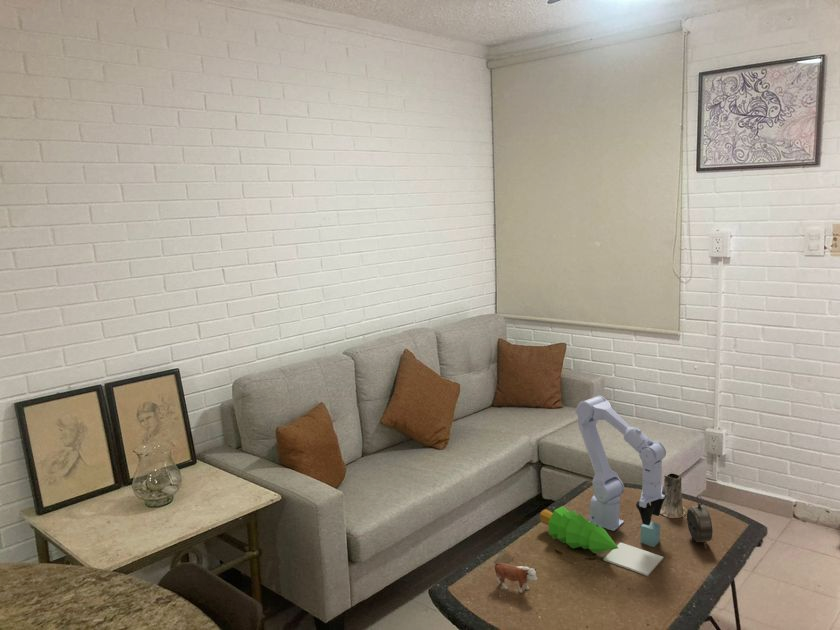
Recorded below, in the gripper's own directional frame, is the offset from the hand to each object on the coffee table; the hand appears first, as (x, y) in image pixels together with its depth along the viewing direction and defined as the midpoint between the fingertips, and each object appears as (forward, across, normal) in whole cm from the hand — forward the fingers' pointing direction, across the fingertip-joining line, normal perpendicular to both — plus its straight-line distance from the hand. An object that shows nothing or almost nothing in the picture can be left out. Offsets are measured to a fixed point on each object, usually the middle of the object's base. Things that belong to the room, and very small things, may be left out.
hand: (650, 519), depth 215 cm
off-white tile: (+8, -13, 0) cm, 15 cm away
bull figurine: (+8, -48, +20) cm, 53 cm away
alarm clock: (+8, +9, -12) cm, 17 cm away
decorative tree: (+8, -17, +17) cm, 25 cm away
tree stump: (+8, +24, +2) cm, 25 cm away
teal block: (+8, 0, 0) cm, 8 cm away
